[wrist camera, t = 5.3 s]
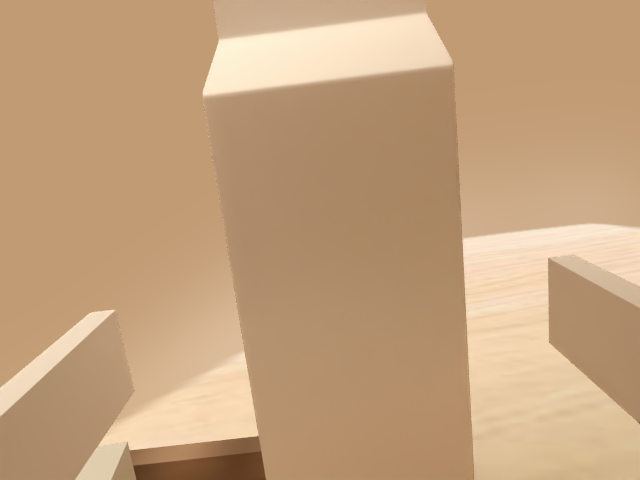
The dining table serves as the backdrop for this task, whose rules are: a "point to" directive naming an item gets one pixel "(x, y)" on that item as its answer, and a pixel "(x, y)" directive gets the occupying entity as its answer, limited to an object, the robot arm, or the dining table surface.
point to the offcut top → (109, 464)
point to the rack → (201, 461)
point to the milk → (344, 235)
